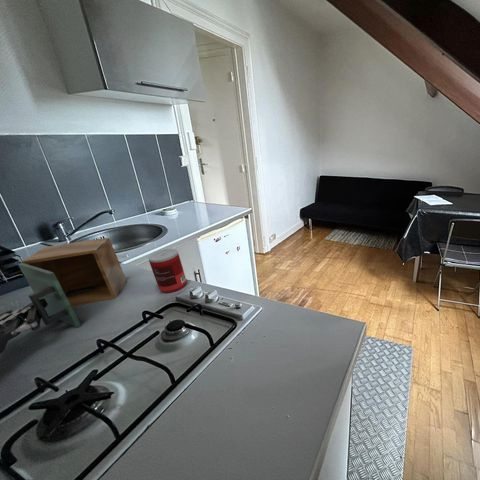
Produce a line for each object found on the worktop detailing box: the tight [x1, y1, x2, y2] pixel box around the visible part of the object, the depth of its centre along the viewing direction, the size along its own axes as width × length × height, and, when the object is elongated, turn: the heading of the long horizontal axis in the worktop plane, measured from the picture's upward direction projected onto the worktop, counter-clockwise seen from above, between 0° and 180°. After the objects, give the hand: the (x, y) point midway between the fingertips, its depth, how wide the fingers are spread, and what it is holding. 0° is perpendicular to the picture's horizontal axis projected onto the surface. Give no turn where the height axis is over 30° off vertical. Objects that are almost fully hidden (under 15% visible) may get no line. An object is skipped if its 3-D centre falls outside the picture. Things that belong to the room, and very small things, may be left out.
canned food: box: [148, 248, 187, 294], centre depth 78 cm, size 8×8×11 cm
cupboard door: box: [17, 262, 82, 329], centre depth 63 cm, size 5×16×15 cm, turn 66°
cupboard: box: [21, 237, 128, 308], centre depth 75 cm, size 10×16×16 cm, turn 109°
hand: (43, 301), depth 63 cm, fingers closed
